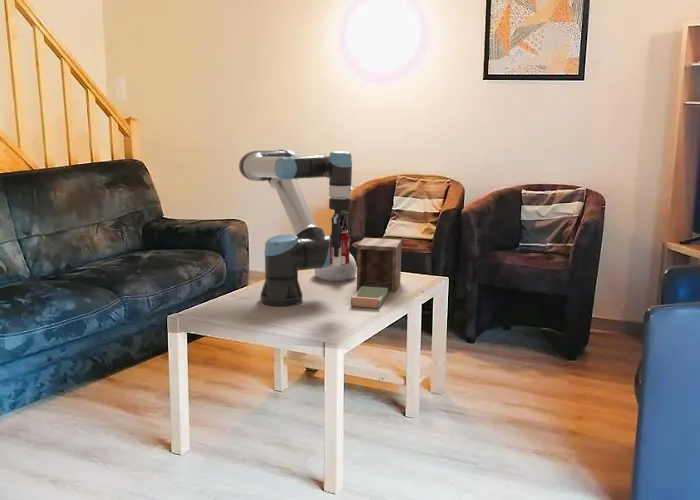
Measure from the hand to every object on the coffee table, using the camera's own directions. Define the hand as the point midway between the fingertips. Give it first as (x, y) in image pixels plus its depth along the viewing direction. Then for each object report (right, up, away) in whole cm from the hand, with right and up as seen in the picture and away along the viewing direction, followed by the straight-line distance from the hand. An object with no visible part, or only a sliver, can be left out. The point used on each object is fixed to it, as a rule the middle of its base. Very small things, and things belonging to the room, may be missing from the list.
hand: (339, 263), depth 271 cm
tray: (+11, -14, +14) cm, 22 cm away
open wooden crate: (+15, -10, +34) cm, 39 cm away
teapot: (-2, -6, +49) cm, 50 cm away
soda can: (0, -1, 0) cm, 1 cm away
